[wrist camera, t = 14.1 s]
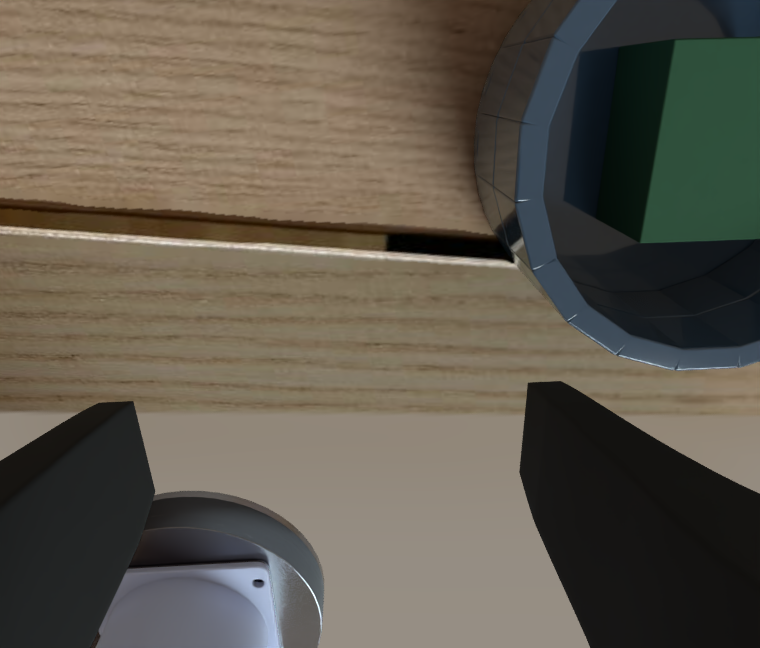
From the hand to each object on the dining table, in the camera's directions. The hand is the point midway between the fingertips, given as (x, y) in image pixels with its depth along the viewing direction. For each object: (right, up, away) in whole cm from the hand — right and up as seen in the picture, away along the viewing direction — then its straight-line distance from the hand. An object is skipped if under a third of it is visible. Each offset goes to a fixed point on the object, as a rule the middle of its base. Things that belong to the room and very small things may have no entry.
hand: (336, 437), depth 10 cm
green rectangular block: (+9, +8, +7) cm, 14 cm away
